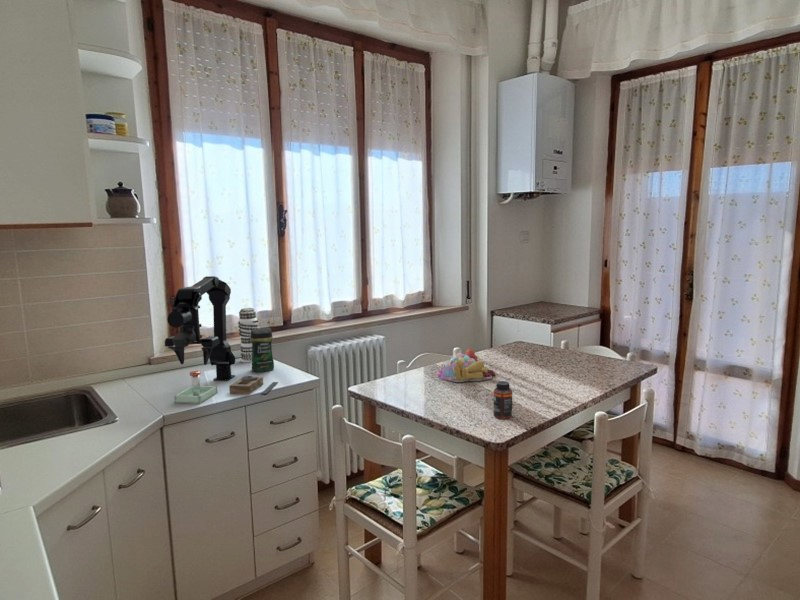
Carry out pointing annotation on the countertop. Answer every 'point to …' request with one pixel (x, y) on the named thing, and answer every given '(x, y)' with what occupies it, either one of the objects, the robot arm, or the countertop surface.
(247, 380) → the block
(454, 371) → the colorful dessert plate
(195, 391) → the lock pin
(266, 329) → the coffee jar
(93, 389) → the countertop surface
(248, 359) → the black white patterned bottle
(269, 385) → the strip
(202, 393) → the tray
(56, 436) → the countertop surface
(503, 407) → the supplement bottle
